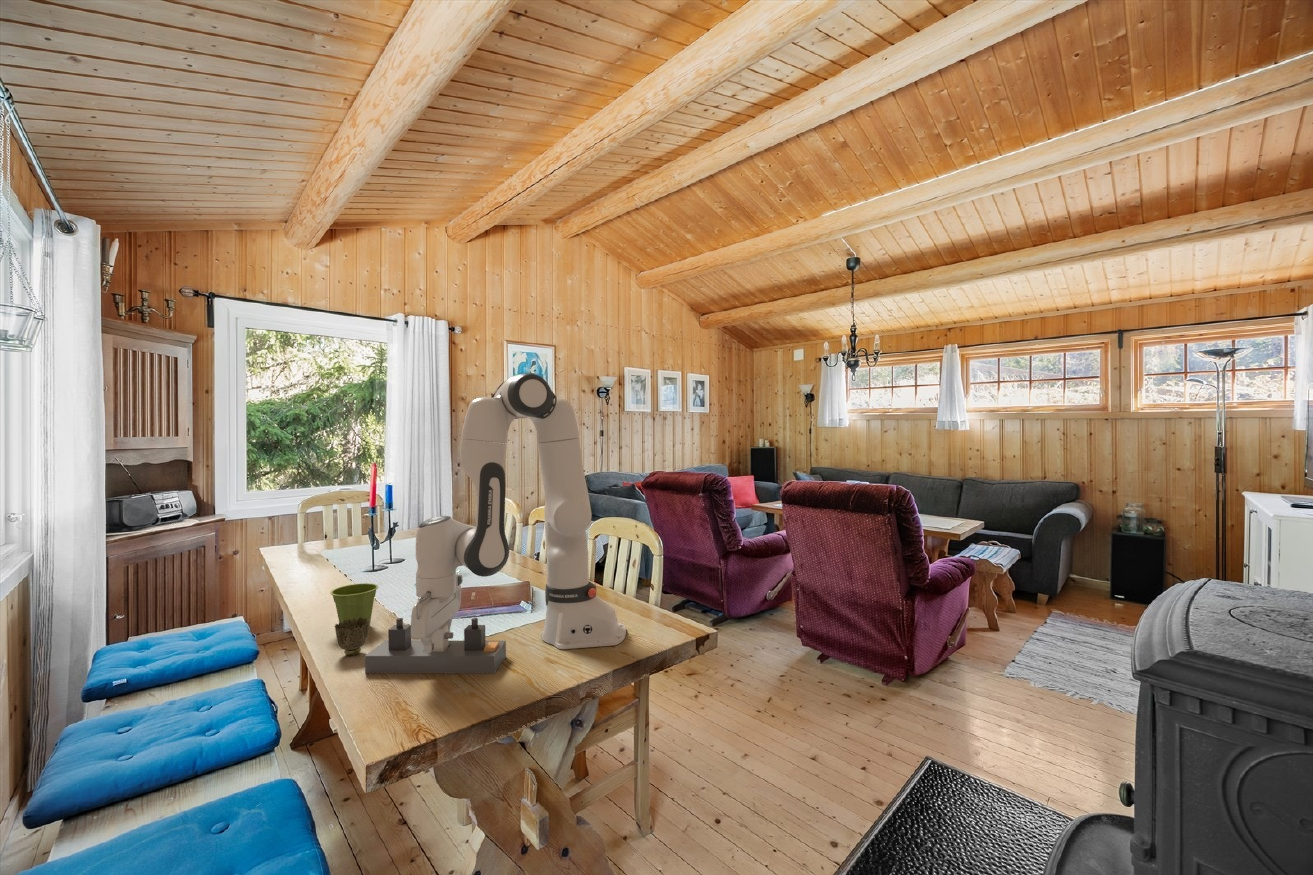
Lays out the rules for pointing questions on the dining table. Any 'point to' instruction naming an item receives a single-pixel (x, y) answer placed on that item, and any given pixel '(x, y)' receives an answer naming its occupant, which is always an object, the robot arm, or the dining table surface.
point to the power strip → (436, 653)
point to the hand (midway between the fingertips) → (437, 643)
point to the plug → (441, 639)
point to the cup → (352, 635)
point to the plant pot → (354, 601)
